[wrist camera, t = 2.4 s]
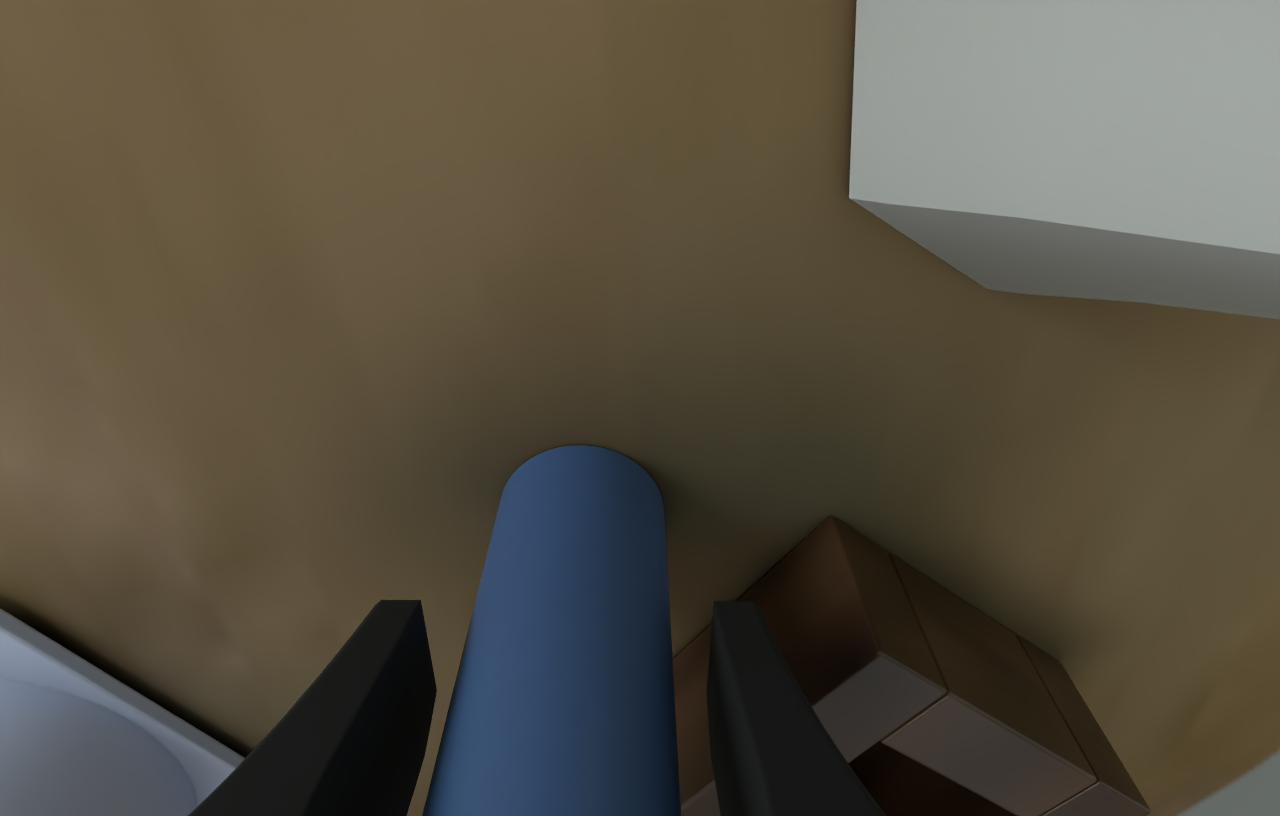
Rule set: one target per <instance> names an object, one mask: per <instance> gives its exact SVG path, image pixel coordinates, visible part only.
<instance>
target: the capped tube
mask: <svg viewBox="0 0 1280 816" xmlns="http://www.w3.org/2000/svg"><path fill="white" fill-rule="evenodd" d="M422 816H681V803H680V785H679V767H678V750H677V732H676V714H675V696H674V679H673V661H672V643H671V625H670V608H669V590H668V572H667V555H666V537H665V519H664V505H663V500H662V496H661V494H660V491H659V489H658V487H657V485H656V484H655V482H654V480H653V479H652V478H651V477H650V476H649V474H648V473H647V472H646V471H645V470H644V469H643V468H642V467H641V466H640V465H638V464H637V463H635V462H634V461H633V460H631V459H629V458H628V457H626V456H624V455H622V454H620V453H617V452H615V451H612V450H609V449H605V448H602V447H596V446H589V445H570V446H563V447H557V448H554V449H550V450H547V451H545V452H542V453H540V454H538V455H536V456H534V457H532V458H531V459H529V460H528V461H526V462H525V463H524V464H522V465H521V466H520V467H519V468H518V469H517V470H516V471H515V472H514V473H513V474H512V476H511V477H510V478H509V480H508V481H507V483H506V485H505V487H504V489H503V492H502V495H501V499H500V503H499V507H498V511H497V515H496V519H495V523H494V527H493V531H492V535H491V540H490V544H489V548H488V552H487V556H486V560H485V564H484V568H483V572H482V576H481V580H480V584H479V588H478V592H477V596H476V600H475V604H474V608H473V613H472V617H471V621H470V625H469V629H468V633H467V637H466V641H465V645H464V649H463V653H462V657H461V661H460V665H459V669H458V673H457V677H456V682H455V686H454V690H453V694H452V698H451V702H450V706H449V710H448V714H447V718H446V722H445V726H444V730H443V734H442V738H441V742H440V746H439V751H438V755H437V759H436V763H435V767H434V771H433V775H432V779H431V783H430V787H429V791H428V795H427V799H426V803H425V807H424V811H423V815H422Z"/></svg>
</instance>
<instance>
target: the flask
mask: <svg viewBox="0 0 1280 816" xmlns="http://www.w3.org/2000/svg"><path fill="white" fill-rule="evenodd" d="M849 198H850V199H851V200H853V201H854V202H856V203H857V204H859V205H860V206H862V207H863V208H865V209H866V210H868V211H869V212H871V213H872V214H874V215H875V216H877V217H878V218H880V219H881V220H883V221H884V222H886V223H887V224H889V225H890V226H892V227H894V228H895V229H897V230H898V231H900V232H901V233H903V234H904V235H906V236H907V237H909V238H910V239H912V240H913V241H915V242H916V243H918V244H919V245H921V246H922V247H924V248H925V249H927V250H928V251H930V252H931V253H933V254H934V255H936V256H937V257H939V258H940V259H942V260H943V261H945V262H946V263H948V264H950V265H951V266H953V267H954V268H956V269H957V270H959V271H960V272H962V273H963V274H965V275H966V276H968V277H969V278H971V279H972V280H974V281H975V282H977V283H978V284H980V285H981V286H983V287H984V288H986V289H988V290H996V291H1004V292H1012V293H1020V294H1031V295H1045V296H1059V297H1072V298H1086V299H1100V300H1114V301H1127V302H1141V303H1150V304H1158V305H1166V306H1174V307H1182V308H1190V309H1198V310H1206V311H1215V312H1223V313H1231V314H1239V315H1247V316H1255V317H1263V318H1271V319H1280V0H857V5H856V31H855V57H854V83H853V109H852V134H851V160H850V186H849Z"/></svg>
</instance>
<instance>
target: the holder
mask: <svg viewBox="0 0 1280 816" xmlns="http://www.w3.org/2000/svg"><path fill="white" fill-rule="evenodd" d="M737 602H754V603H755V604H757V605H758V606H759V607H760V610H761V612H762V614H763V617H764V619H765V621H766V623H767V626H768V628H769V630H770V632H771V634H772V636H773V638H774V640H775V642H776V644H777V646H778V648H779V650H780V652H781V654H782V656H783V658H784V659H785V661H786V663H787V665H788V667H789V669H790V671H791V672H792V674H793V676H794V678H795V680H796V681H797V683H798V685H799V687H800V688H801V690H802V692H803V693H804V695H805V697H806V698H807V700H808V702H809V703H810V705H811V706H812V708H813V710H814V711H815V713H816V715H817V716H818V718H819V720H820V721H821V723H822V725H823V726H824V728H825V729H826V731H827V732H828V734H829V735H830V737H831V739H832V740H833V742H834V743H835V745H836V746H837V748H838V749H839V751H840V752H841V754H842V755H843V756H844V758H845V759H846V761H847V762H848V764H849V765H850V767H851V768H852V770H853V771H854V772H855V774H856V775H857V777H858V778H859V780H860V781H861V782H862V784H863V785H864V787H865V788H866V789H867V791H868V792H869V793H870V795H871V796H872V797H873V799H874V800H875V802H876V803H877V804H878V806H879V807H880V808H881V810H882V811H883V812H884V813H885V815H886V816H1146V815H1148V814H1150V813H1151V810H1150V808H1149V807H1148V805H1147V803H1146V802H1145V800H1144V798H1143V797H1142V795H1141V794H1140V792H1139V790H1138V789H1137V787H1136V785H1135V784H1134V782H1133V780H1132V779H1131V777H1130V775H1129V774H1128V772H1127V771H1126V769H1125V767H1124V766H1123V764H1122V762H1121V761H1120V759H1119V757H1118V756H1117V754H1116V753H1115V751H1114V749H1113V748H1112V746H1111V744H1110V743H1109V741H1108V739H1107V738H1106V736H1105V734H1104V733H1103V731H1102V730H1101V728H1100V726H1099V725H1098V723H1097V721H1096V720H1095V718H1094V716H1093V715H1092V713H1091V712H1090V710H1089V708H1088V707H1087V705H1086V703H1085V702H1084V700H1083V698H1082V697H1081V695H1080V693H1079V692H1078V690H1077V689H1076V687H1075V685H1074V684H1073V682H1072V680H1071V679H1070V677H1069V675H1068V674H1067V672H1066V671H1065V669H1064V667H1063V666H1062V664H1060V663H1059V662H1057V661H1056V660H1054V659H1053V658H1051V657H1050V656H1048V655H1047V654H1045V653H1043V652H1042V651H1040V650H1039V649H1037V648H1036V647H1034V646H1033V645H1031V644H1030V643H1028V642H1027V641H1025V640H1023V639H1022V638H1020V637H1019V636H1017V635H1015V634H1013V633H1012V632H1010V631H1009V630H1007V629H1006V628H1004V627H1003V626H1001V625H999V624H998V623H996V622H995V621H993V620H992V619H990V618H989V617H987V616H986V615H984V614H983V613H981V612H979V611H978V610H976V609H975V608H973V607H972V606H970V605H969V604H967V603H966V602H964V601H963V600H961V599H959V598H958V597H956V596H955V595H953V594H952V593H950V592H949V591H947V590H946V589H944V588H942V587H941V586H939V585H938V584H936V583H935V582H933V581H932V580H930V579H929V578H927V577H926V576H924V575H922V574H921V573H919V572H918V571H916V570H915V569H913V568H912V567H910V566H909V565H907V564H906V563H904V562H902V561H901V560H899V559H898V558H896V557H895V556H893V555H892V554H890V553H887V551H886V550H884V549H883V548H881V547H880V546H878V545H877V544H875V543H874V542H872V541H870V540H869V539H867V538H866V537H864V536H863V535H861V534H860V533H858V532H857V531H855V530H854V529H852V528H850V527H849V526H847V525H846V524H844V523H843V522H841V521H840V520H838V519H837V518H835V517H833V516H830V517H829V518H828V519H826V520H825V521H824V522H823V523H822V524H821V525H820V526H819V527H818V528H817V529H816V530H814V531H813V532H812V533H811V534H810V535H809V536H808V537H807V538H806V539H805V540H803V541H802V542H801V543H800V544H799V545H798V546H797V547H796V548H795V549H794V550H792V551H791V552H790V553H789V554H788V555H787V556H786V557H785V558H784V559H783V560H782V561H780V562H779V563H778V564H777V565H776V566H775V567H774V568H773V569H772V570H771V571H769V572H768V573H767V574H766V575H765V576H764V577H763V578H762V579H761V580H760V581H759V582H757V583H756V584H755V585H754V586H753V587H752V588H751V589H750V590H749V591H748V592H746V593H745V594H744V595H743V596H742V597H741V598H740V599H739V600H738V601H737ZM711 631H712V624H711V625H710V626H709V627H708V628H707V629H706V630H705V631H704V632H703V633H702V634H700V635H699V636H698V637H697V638H696V639H695V640H694V641H693V642H692V643H691V644H689V645H688V646H687V647H686V648H685V649H684V650H683V651H682V652H681V653H680V654H678V655H677V656H676V657H675V658H674V659H673V660H672V661H673V679H674V696H675V714H676V732H677V750H678V767H679V785H680V803H681V816H721V815H720V809H719V803H718V797H717V791H716V785H715V779H714V773H713V767H712V761H711V752H710V738H709V724H708V708H707V692H706V690H707V679H708V667H709V655H710V643H711Z"/></svg>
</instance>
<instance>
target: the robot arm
mask: <svg viewBox="0 0 1280 816" xmlns="http://www.w3.org/2000/svg"><path fill="white" fill-rule="evenodd" d="M436 692H437V689H436V683H435V678H434V672H433V666H432V661H431V655H430V650H429V644H428V638H427V633H426V627H425V622H424V616H423V610H422V605H421V600H381V601H380V602H378V603H377V604H376V605H375V606H374V607H373V609H372V610H371V611H370V613H369V614H368V615H367V616H366V618H365V619H364V620H363V622H362V623H361V624H360V625H359V627H358V628H357V629H356V630H355V632H354V633H353V634H352V636H351V637H350V638H349V639H348V641H347V642H346V643H345V644H344V646H343V647H342V648H341V649H340V651H339V652H338V653H337V654H336V656H335V657H334V658H333V659H332V660H331V662H330V663H329V664H328V665H327V667H326V668H325V669H324V670H323V672H322V673H321V674H320V675H319V676H318V677H317V679H316V680H315V681H314V682H313V683H312V684H311V686H310V687H309V688H308V689H307V690H306V691H305V693H304V694H303V695H302V696H301V697H300V698H299V700H298V701H297V702H296V703H295V704H294V705H293V707H292V708H291V709H290V710H289V711H288V712H287V714H286V715H285V716H284V717H283V718H282V719H281V720H280V721H279V723H278V724H277V725H276V726H275V727H274V728H273V729H272V730H271V731H270V732H269V733H268V734H267V736H266V737H265V738H264V739H263V740H262V741H261V742H260V743H259V744H258V745H257V746H256V747H255V748H254V749H253V751H252V752H251V753H250V754H249V755H248V756H247V757H246V758H244V757H243V756H241V755H240V754H238V753H236V752H235V751H233V750H231V749H230V748H228V747H226V746H225V745H223V744H222V743H220V742H218V741H217V740H215V739H213V738H212V737H210V736H208V735H207V734H205V733H204V732H202V731H200V730H199V729H197V728H195V727H194V726H192V725H190V724H189V723H187V722H186V721H184V720H182V719H181V718H179V717H177V716H176V715H174V714H173V713H171V712H169V711H168V710H166V709H164V708H163V707H161V706H159V705H158V704H156V703H155V702H153V701H151V700H150V699H148V698H146V697H145V696H143V695H141V694H140V693H138V692H137V691H135V690H133V689H132V688H130V687H128V686H127V685H125V684H123V683H122V682H120V681H119V680H117V679H115V678H114V677H112V676H110V675H109V674H107V673H105V672H104V671H102V670H101V669H99V668H97V667H96V666H94V665H92V664H91V663H89V662H88V661H86V660H84V659H83V658H81V657H79V656H78V655H76V654H74V653H73V652H71V651H70V650H68V649H66V648H65V647H63V646H61V645H60V644H58V643H56V642H55V641H53V640H52V639H50V638H48V637H47V636H45V635H43V634H42V633H40V632H38V631H37V630H35V629H34V628H32V627H30V626H29V625H27V624H25V623H24V622H22V621H20V620H19V619H17V618H16V617H14V616H12V615H11V614H9V613H7V612H6V611H4V610H3V609H1V608H0V816H406V815H407V812H408V809H409V806H410V802H411V799H412V796H413V793H414V789H415V786H416V783H417V779H418V776H419V773H420V769H421V766H422V763H423V759H424V756H425V751H426V746H427V741H428V736H429V731H430V725H431V720H432V714H433V709H434V703H435V697H436ZM706 692H707V708H708V724H709V738H710V752H711V761H712V767H713V773H714V779H715V785H716V791H717V797H718V803H719V809H720V815H721V816H886V815H885V813H884V812H883V811H882V810H881V808H880V807H879V806H878V804H877V803H876V802H875V800H874V799H873V797H872V796H871V795H870V793H869V792H868V791H867V789H866V788H865V787H864V785H863V784H862V782H861V781H860V780H859V778H858V777H857V775H856V774H855V772H854V771H853V770H852V768H851V767H850V765H849V764H848V762H847V761H846V759H845V758H844V756H843V755H842V754H841V752H840V751H839V749H838V748H837V746H836V745H835V743H834V742H833V740H832V739H831V737H830V735H829V734H828V732H827V731H826V729H825V728H824V726H823V725H822V723H821V721H820V720H819V718H818V716H817V715H816V713H815V711H814V710H813V708H812V706H811V705H810V703H809V702H808V700H807V698H806V697H805V695H804V693H803V692H802V690H801V688H800V687H799V685H798V683H797V681H796V680H795V678H794V676H793V674H792V672H791V671H790V669H789V667H788V665H787V663H786V661H785V659H784V658H783V656H782V654H781V652H780V650H779V648H778V646H777V644H776V642H775V640H774V638H773V636H772V634H771V632H770V630H769V628H768V626H767V623H766V621H765V619H764V617H763V614H762V612H761V610H760V607H759V606H758V605H757V604H755V603H754V602H734V601H714V608H713V620H712V631H711V643H710V655H709V667H708V679H707V690H706Z"/></svg>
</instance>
